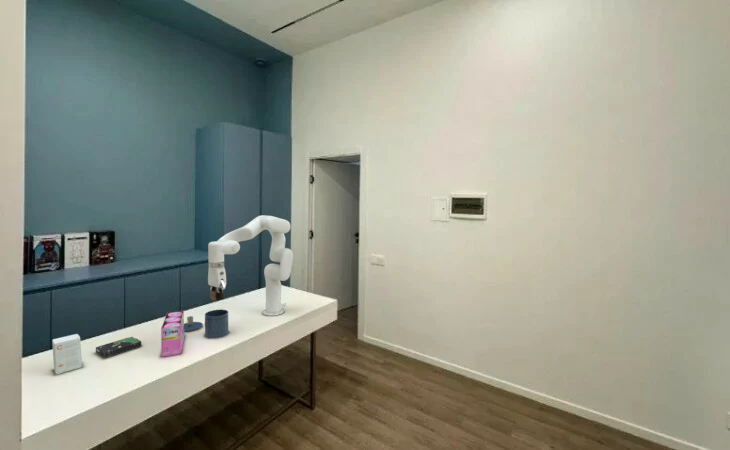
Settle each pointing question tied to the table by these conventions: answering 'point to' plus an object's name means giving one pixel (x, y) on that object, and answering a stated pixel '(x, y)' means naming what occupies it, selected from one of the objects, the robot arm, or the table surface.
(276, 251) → the robot arm
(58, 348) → the small box
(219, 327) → the canister
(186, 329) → the lid
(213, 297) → the block
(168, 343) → the gum box
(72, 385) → the table surface
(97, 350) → the disk drive
